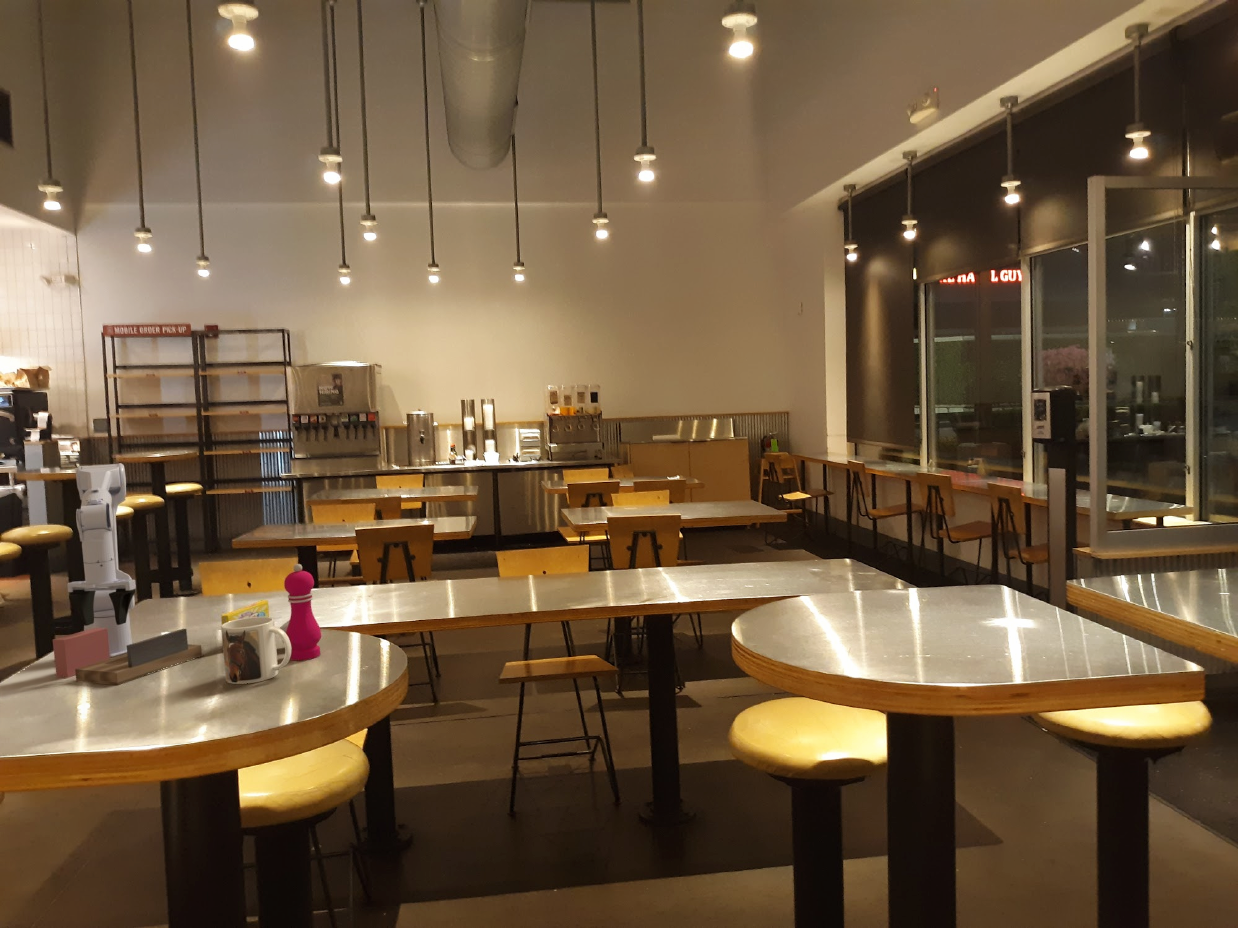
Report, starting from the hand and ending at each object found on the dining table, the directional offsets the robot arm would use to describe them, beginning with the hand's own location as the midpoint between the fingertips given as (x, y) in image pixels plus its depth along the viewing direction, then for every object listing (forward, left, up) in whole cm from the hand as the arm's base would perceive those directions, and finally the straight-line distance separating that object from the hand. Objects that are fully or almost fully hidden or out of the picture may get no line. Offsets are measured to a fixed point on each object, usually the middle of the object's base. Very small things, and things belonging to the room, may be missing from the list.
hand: (105, 624), depth 200 cm
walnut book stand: (+8, +1, -9) cm, 13 cm away
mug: (+40, +1, -10) cm, 41 cm away
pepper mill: (+39, +16, -10) cm, 43 cm away
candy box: (+15, +24, -10) cm, 30 cm away
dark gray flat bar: (+14, +1, -7) cm, 15 cm away
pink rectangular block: (-4, -3, -10) cm, 11 cm away
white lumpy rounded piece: (+31, +22, -10) cm, 39 cm away
